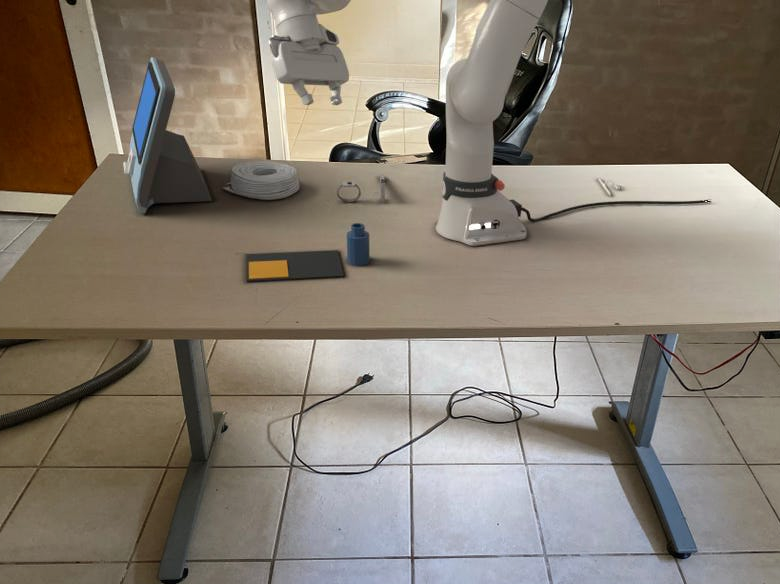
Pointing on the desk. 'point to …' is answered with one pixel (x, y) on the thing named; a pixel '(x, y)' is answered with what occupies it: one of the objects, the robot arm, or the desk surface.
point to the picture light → (606, 187)
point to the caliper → (382, 187)
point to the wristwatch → (348, 184)
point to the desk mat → (293, 266)
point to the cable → (263, 180)
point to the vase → (358, 245)
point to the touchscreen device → (161, 148)
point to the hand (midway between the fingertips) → (323, 104)
